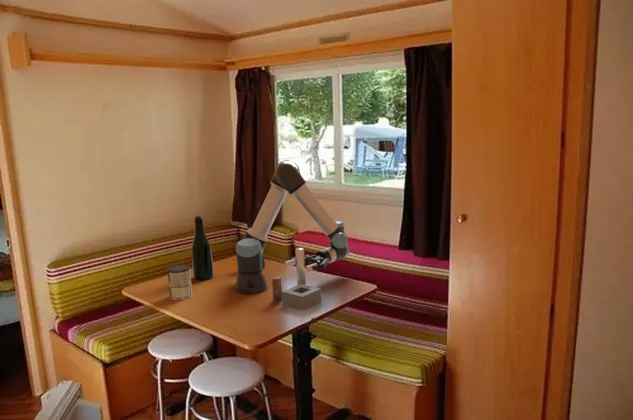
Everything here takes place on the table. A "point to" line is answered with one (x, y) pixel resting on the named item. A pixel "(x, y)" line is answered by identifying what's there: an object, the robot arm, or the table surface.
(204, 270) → the beer bottle
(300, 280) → the long steel pin
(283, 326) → the table surface
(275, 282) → the short walnut pin
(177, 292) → the coffee can
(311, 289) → the hole block
